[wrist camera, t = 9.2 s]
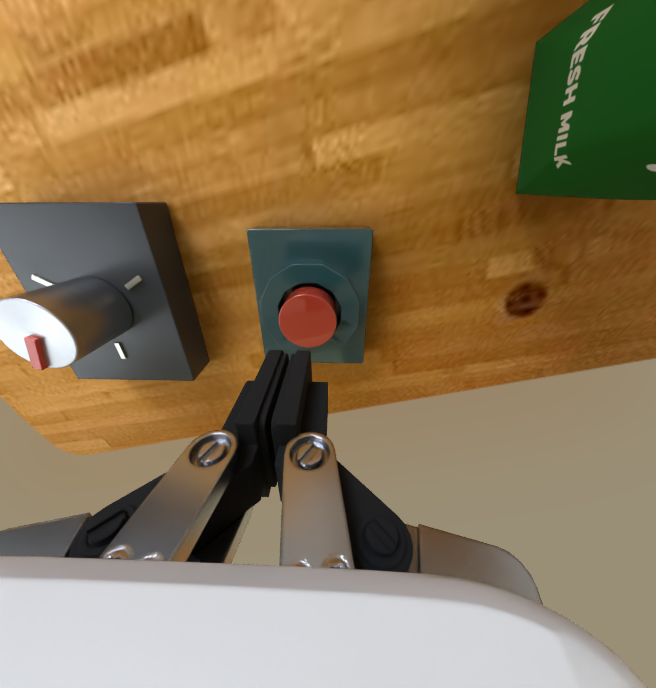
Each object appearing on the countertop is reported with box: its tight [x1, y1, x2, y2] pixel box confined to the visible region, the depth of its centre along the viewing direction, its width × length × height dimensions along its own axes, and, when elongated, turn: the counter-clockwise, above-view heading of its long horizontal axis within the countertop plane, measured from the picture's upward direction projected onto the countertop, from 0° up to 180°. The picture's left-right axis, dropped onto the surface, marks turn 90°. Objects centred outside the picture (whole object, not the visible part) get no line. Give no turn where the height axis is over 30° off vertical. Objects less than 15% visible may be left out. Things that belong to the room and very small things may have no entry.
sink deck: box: [0, 202, 209, 381], centre depth 19 cm, size 13×10×3 cm
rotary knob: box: [0, 276, 133, 370], centre depth 16 cm, size 4×4×5 cm
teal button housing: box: [247, 227, 373, 363], centre depth 18 cm, size 10×8×4 cm
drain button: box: [279, 286, 337, 348], centre depth 16 cm, size 4×4×2 cm
